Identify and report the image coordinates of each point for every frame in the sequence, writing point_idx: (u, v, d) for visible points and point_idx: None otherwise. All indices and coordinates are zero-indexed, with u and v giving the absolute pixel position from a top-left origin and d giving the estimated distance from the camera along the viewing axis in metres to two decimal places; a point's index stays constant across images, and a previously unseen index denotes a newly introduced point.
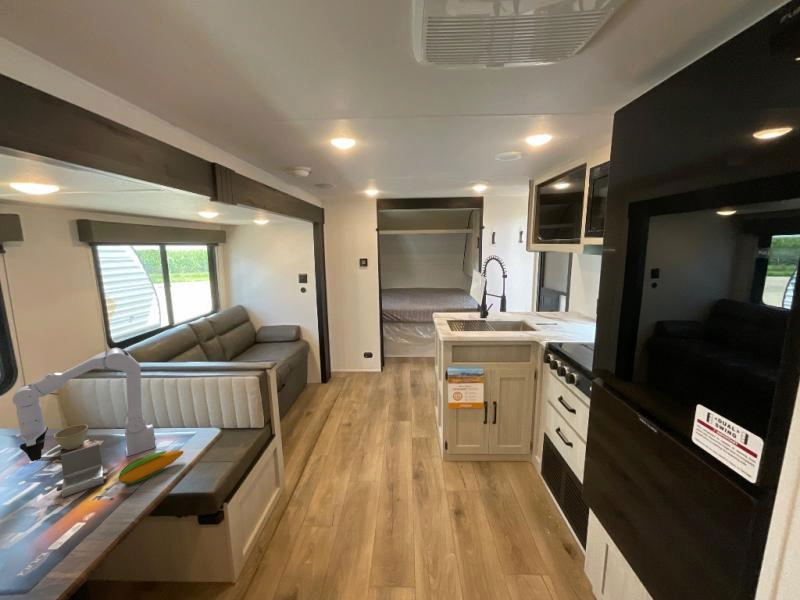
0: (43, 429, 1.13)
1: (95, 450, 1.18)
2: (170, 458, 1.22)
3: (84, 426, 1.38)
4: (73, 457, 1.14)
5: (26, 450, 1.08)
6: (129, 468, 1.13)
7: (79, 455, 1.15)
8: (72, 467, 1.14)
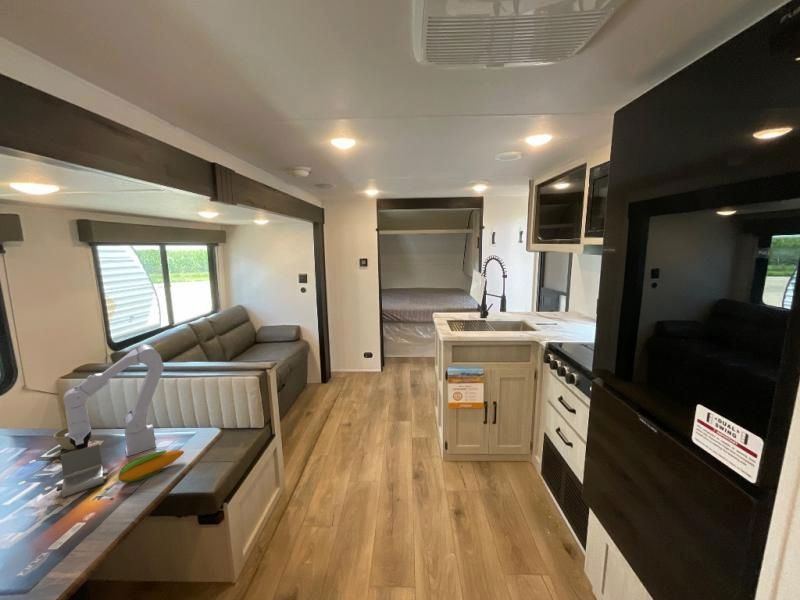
0: (89, 429, 1.21)
1: (95, 450, 1.18)
2: (169, 458, 1.22)
3: None
4: (73, 457, 1.14)
5: (75, 444, 1.18)
6: (129, 467, 1.14)
7: (79, 455, 1.15)
8: (72, 467, 1.14)
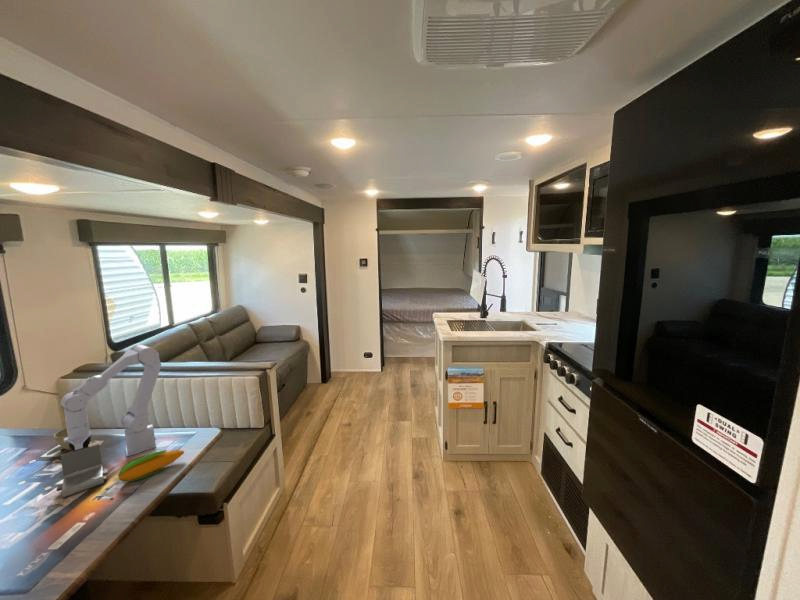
0: (88, 433, 1.18)
1: (95, 450, 1.18)
2: (169, 458, 1.22)
3: None
4: (73, 457, 1.14)
5: (74, 449, 1.16)
6: (128, 466, 1.14)
7: (79, 455, 1.15)
8: (72, 467, 1.14)
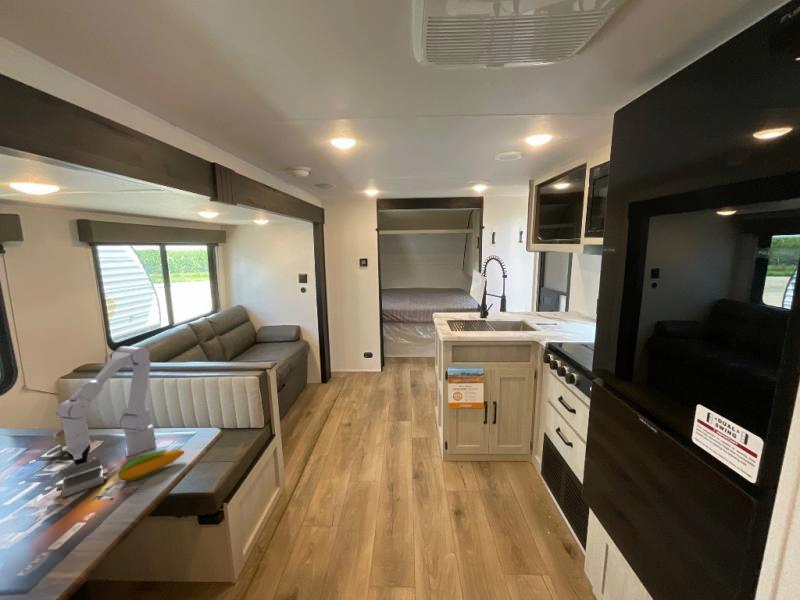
0: (88, 442, 1.13)
1: (96, 462, 1.14)
2: (169, 458, 1.22)
3: None
4: (73, 470, 1.10)
5: (73, 458, 1.11)
6: (128, 465, 1.14)
7: (79, 467, 1.11)
8: (72, 472, 1.12)
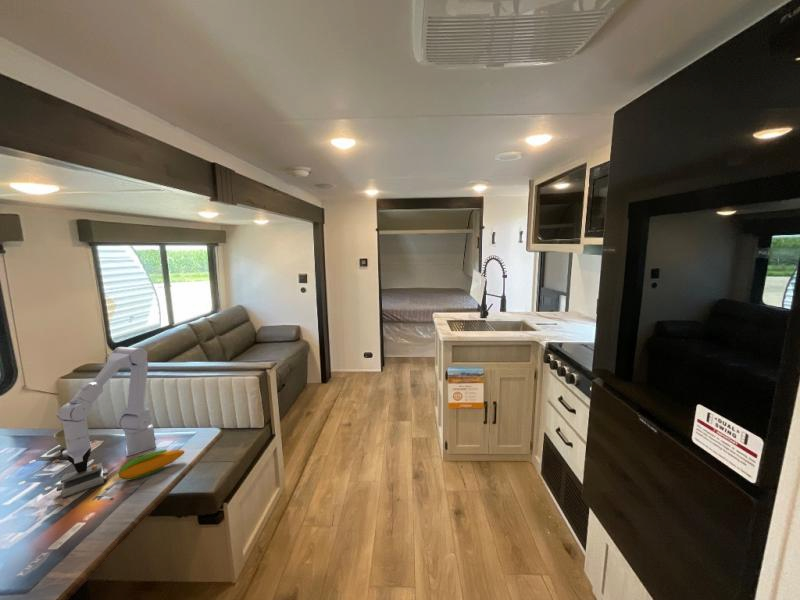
0: (88, 445, 1.12)
1: None
2: (169, 458, 1.22)
3: None
4: None
5: (74, 462, 1.10)
6: (128, 465, 1.15)
7: None
8: None
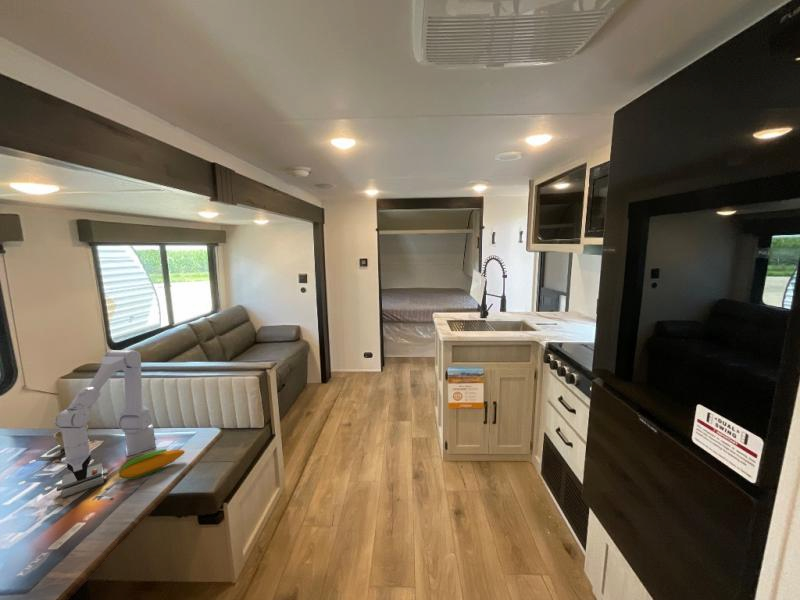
0: (88, 452, 1.09)
1: None
2: (169, 458, 1.22)
3: None
4: None
5: (73, 470, 1.07)
6: (128, 464, 1.15)
7: None
8: None
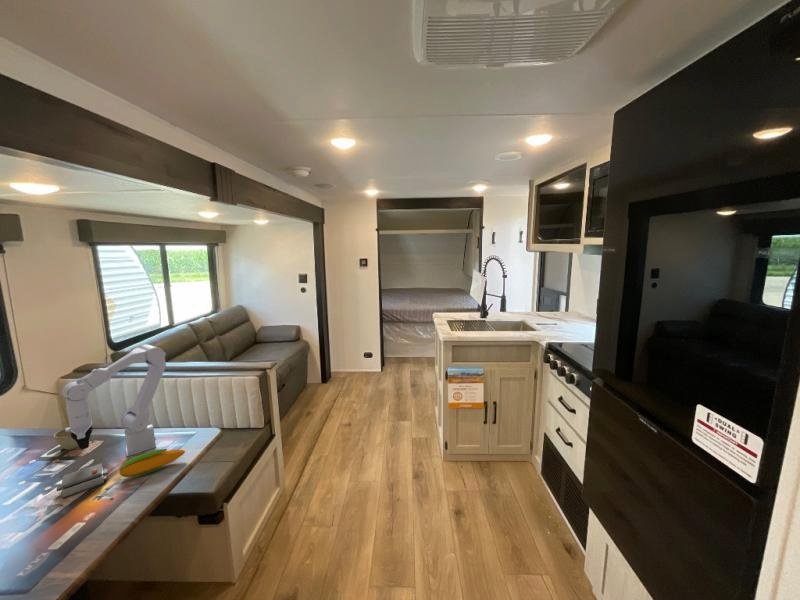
0: (90, 423, 1.18)
1: None
2: (169, 457, 1.23)
3: None
4: None
5: (76, 439, 1.15)
6: (128, 462, 1.16)
7: None
8: None
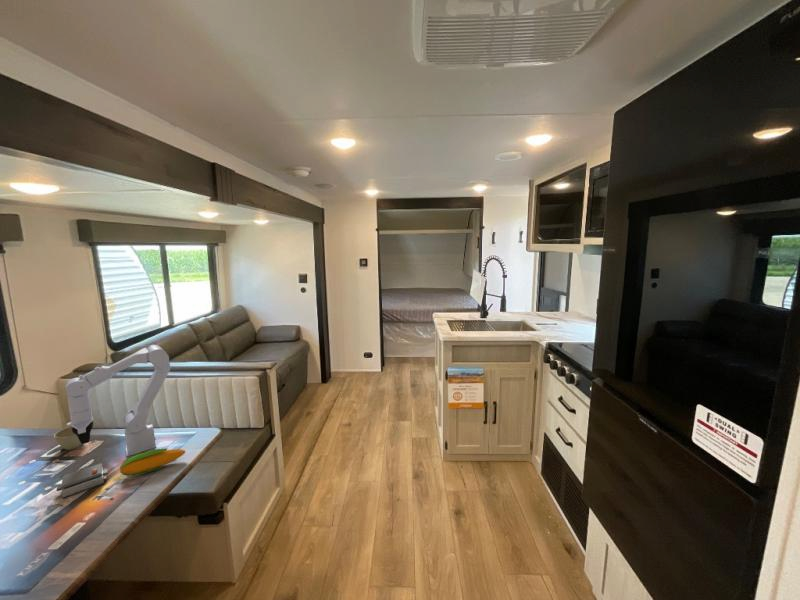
0: (91, 418, 1.21)
1: None
2: (169, 457, 1.23)
3: None
4: None
5: (77, 433, 1.18)
6: (129, 461, 1.17)
7: None
8: None
